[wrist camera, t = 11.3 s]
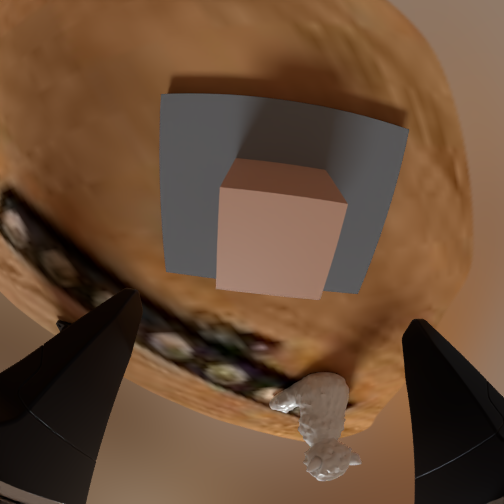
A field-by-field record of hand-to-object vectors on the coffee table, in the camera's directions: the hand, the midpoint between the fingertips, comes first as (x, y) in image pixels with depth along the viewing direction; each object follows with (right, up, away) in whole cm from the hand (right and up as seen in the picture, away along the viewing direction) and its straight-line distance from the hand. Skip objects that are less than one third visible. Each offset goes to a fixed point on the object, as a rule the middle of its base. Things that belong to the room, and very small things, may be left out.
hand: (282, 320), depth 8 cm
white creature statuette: (+6, -13, +20) cm, 25 cm away
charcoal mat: (+1, +5, +9) cm, 10 cm away
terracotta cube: (0, +5, +8) cm, 9 cm away
